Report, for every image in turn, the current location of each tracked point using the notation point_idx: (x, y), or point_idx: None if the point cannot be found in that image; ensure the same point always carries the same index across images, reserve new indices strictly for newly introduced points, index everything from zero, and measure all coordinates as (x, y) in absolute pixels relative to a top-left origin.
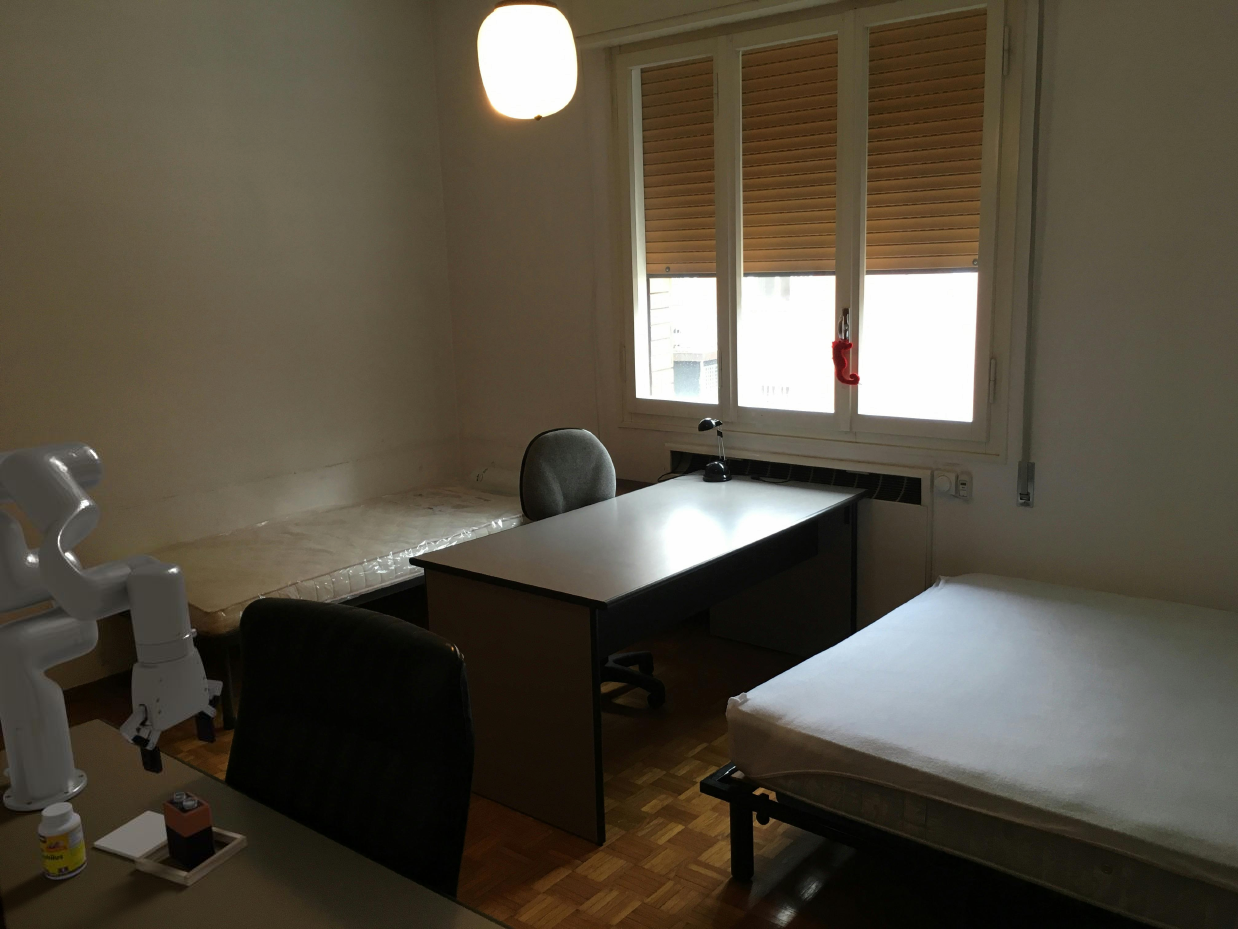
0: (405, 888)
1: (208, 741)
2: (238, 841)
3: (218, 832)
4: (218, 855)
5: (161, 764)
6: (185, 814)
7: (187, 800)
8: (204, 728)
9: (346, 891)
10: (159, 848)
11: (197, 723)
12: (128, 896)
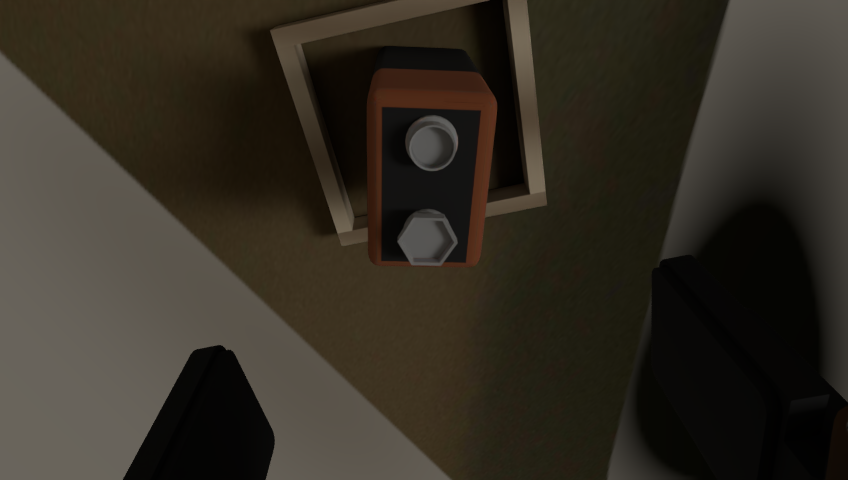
0: None
1: (656, 353)
2: (519, 208)
3: (520, 115)
4: None
5: (262, 476)
6: (383, 264)
7: (428, 219)
8: (706, 412)
9: (527, 461)
10: (357, 30)
11: (732, 377)
12: (214, 143)
